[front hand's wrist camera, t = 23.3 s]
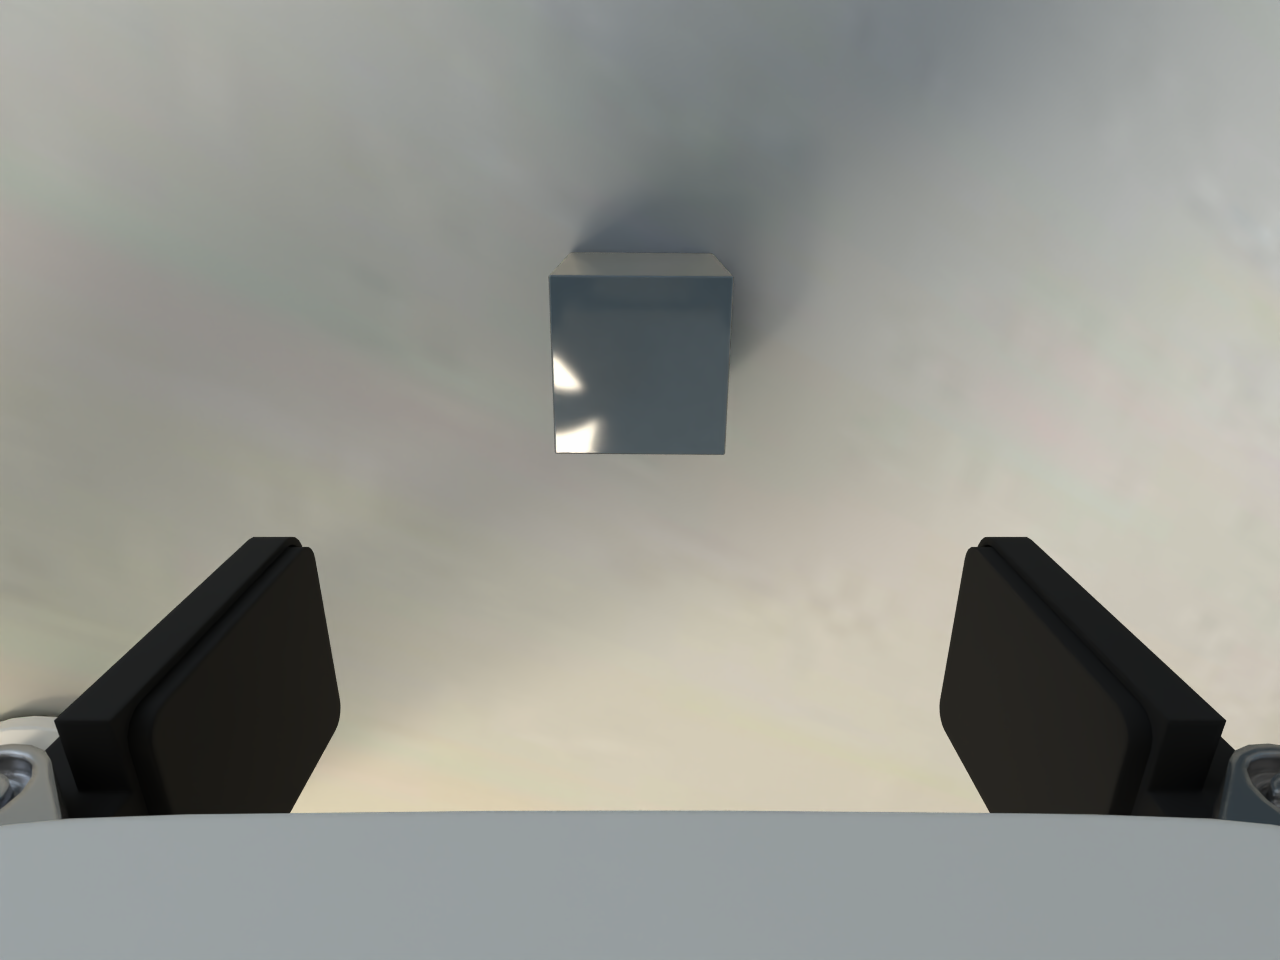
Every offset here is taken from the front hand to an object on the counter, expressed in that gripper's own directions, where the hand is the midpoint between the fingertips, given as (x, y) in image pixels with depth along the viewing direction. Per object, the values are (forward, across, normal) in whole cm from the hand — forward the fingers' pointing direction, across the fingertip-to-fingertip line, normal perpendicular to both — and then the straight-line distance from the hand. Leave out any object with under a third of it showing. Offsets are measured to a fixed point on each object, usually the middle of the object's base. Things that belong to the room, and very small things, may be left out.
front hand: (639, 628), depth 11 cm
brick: (+23, 0, 0) cm, 23 cm away
